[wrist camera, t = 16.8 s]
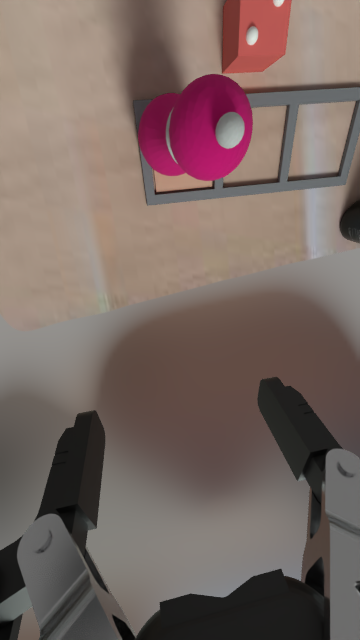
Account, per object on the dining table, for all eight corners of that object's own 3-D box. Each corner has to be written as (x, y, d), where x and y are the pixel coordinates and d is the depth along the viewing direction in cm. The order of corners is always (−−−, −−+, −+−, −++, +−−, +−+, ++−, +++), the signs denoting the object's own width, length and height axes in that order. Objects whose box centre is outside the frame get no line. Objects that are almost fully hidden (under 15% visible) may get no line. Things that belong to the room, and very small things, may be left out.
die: (222, 73, 28) (240, 53, 23) (223, 6, 25) (244, -31, 20) (262, 71, 28) (288, 51, 23) (267, 6, 25) (298, -32, 21)
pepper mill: (143, 85, 26) (211, -4, 11) (199, 119, 29) (314, 88, 14) (127, 158, 30) (160, 171, 14) (178, 182, 33) (251, 213, 17)
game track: (147, 204, 34) (147, 205, 33) (133, 101, 28) (133, 100, 27) (342, 184, 37) (345, 184, 36) (368, 87, 31) (371, 86, 30)
